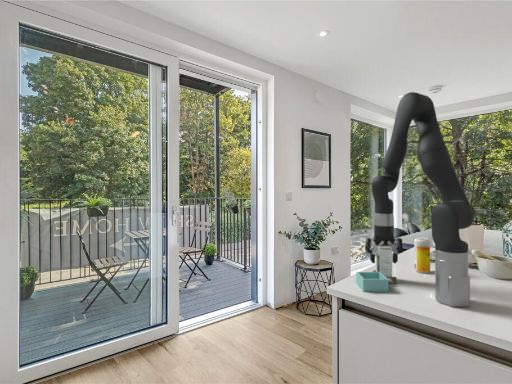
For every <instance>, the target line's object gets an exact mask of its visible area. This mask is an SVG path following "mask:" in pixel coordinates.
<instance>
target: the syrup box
mask: <svg viewBox="0 0 512 384" xmlns="http://www.w3.org/2000/svg"><path fill="white" fill-rule="evenodd" d="M392 253H393V251H392V247H391V246H388V245H382V246H377V251H376V258H375V265H376V272H380V273H381V274H383V275H384V276H385V277H393V261H392Z"/></svg>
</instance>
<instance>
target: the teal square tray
mask: <svg viewBox="0 0 512 384" xmlns="http://www.w3.org/2000/svg"><path fill="white" fill-rule="evenodd" d="M355 283H356V285H357V286H358V287H359V288H360V290H361V291H362V292H365V293H366V292H368V293H370V292H371V291H372V292H373V293H374V292H378V293H379V292H381V293H382V292H387V293H388V292H389V291H390V288H389V287H390V283H389V279H388V278H386V277H385V276H384V275H383V274H381V273H380V272H373V271H356V272H355Z"/></svg>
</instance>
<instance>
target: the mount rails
mask: <svg viewBox="0 0 512 384" xmlns="http://www.w3.org/2000/svg"><path fill="white" fill-rule="evenodd" d="M372 272H376V270H375V269H374V270H373V271H372ZM386 278H388V279H389V284H397V277H396V276H392V277H386Z"/></svg>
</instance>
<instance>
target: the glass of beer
mask: <svg viewBox="0 0 512 384" xmlns="http://www.w3.org/2000/svg"><path fill="white" fill-rule="evenodd" d="M413 245H414V251H413V252H414V253H413V254H414V255H413V257H414V259H413V260H414V264H413V265H414V271H415V272H416V273H419V274H426V275H427V274H429V273H430V272H431V241H430V238H429V237H421V236H419V237H418V236H417V237H415V239H414V243H413Z"/></svg>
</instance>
